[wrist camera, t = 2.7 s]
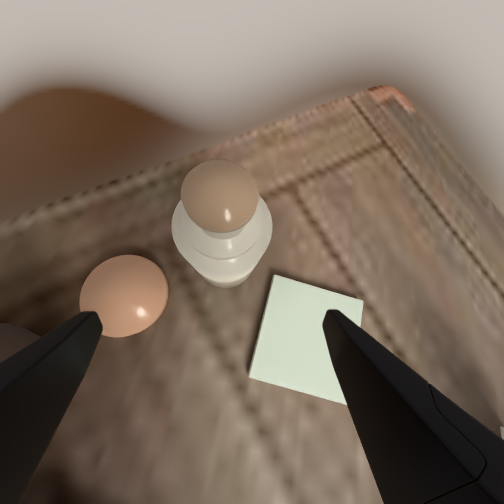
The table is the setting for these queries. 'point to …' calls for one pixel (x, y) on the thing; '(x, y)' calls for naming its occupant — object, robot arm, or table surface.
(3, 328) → the toy
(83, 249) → the table surface
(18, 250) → the table surface
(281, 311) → the pad
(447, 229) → the table surface
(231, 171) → the stoneware bottle
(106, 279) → the tan disc
